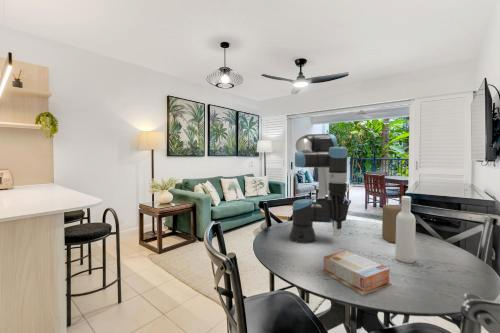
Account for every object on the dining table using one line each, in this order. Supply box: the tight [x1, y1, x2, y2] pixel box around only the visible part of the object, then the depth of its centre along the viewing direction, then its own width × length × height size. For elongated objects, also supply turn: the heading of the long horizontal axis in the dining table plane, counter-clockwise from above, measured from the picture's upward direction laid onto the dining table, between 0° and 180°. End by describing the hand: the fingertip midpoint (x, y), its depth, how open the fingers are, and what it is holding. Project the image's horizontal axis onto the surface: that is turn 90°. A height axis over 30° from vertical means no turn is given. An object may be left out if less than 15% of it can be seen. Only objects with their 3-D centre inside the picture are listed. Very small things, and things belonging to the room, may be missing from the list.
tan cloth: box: [323, 270, 393, 296], centre depth 99 cm, size 19×16×1 cm
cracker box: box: [323, 249, 390, 292], centre depth 99 cm, size 14×6×21 cm
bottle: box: [394, 195, 417, 264], centre depth 115 cm, size 8×8×30 cm
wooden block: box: [381, 204, 402, 244], centre depth 142 cm, size 10×10×20 cm
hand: (336, 235), depth 107 cm, fingers closed
